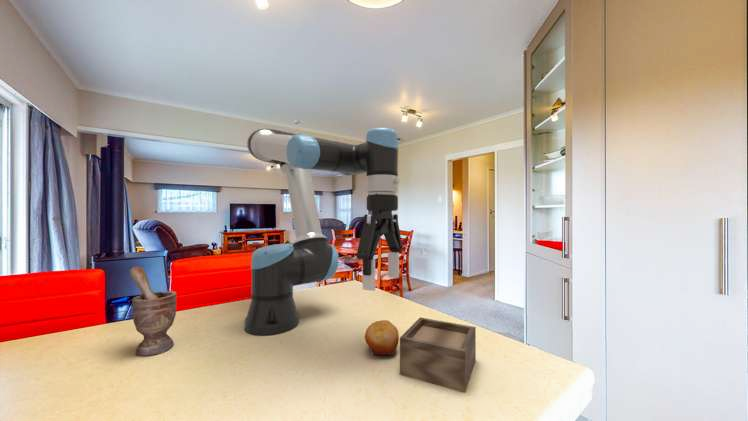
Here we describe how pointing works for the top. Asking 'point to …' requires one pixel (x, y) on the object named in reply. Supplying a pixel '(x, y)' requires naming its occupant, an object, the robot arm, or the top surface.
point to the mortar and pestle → (152, 315)
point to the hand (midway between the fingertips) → (382, 283)
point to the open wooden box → (439, 353)
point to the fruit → (382, 337)
